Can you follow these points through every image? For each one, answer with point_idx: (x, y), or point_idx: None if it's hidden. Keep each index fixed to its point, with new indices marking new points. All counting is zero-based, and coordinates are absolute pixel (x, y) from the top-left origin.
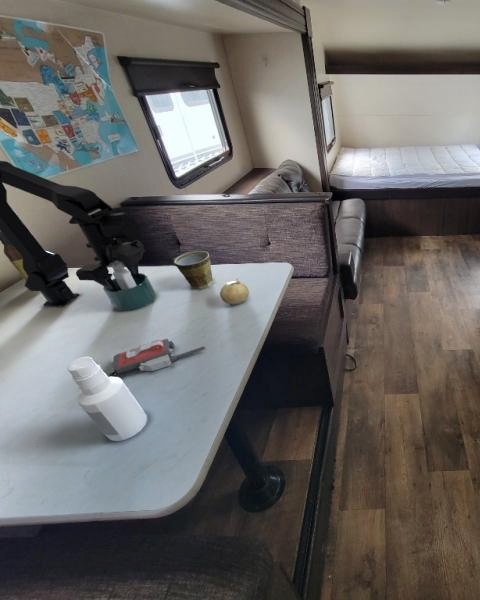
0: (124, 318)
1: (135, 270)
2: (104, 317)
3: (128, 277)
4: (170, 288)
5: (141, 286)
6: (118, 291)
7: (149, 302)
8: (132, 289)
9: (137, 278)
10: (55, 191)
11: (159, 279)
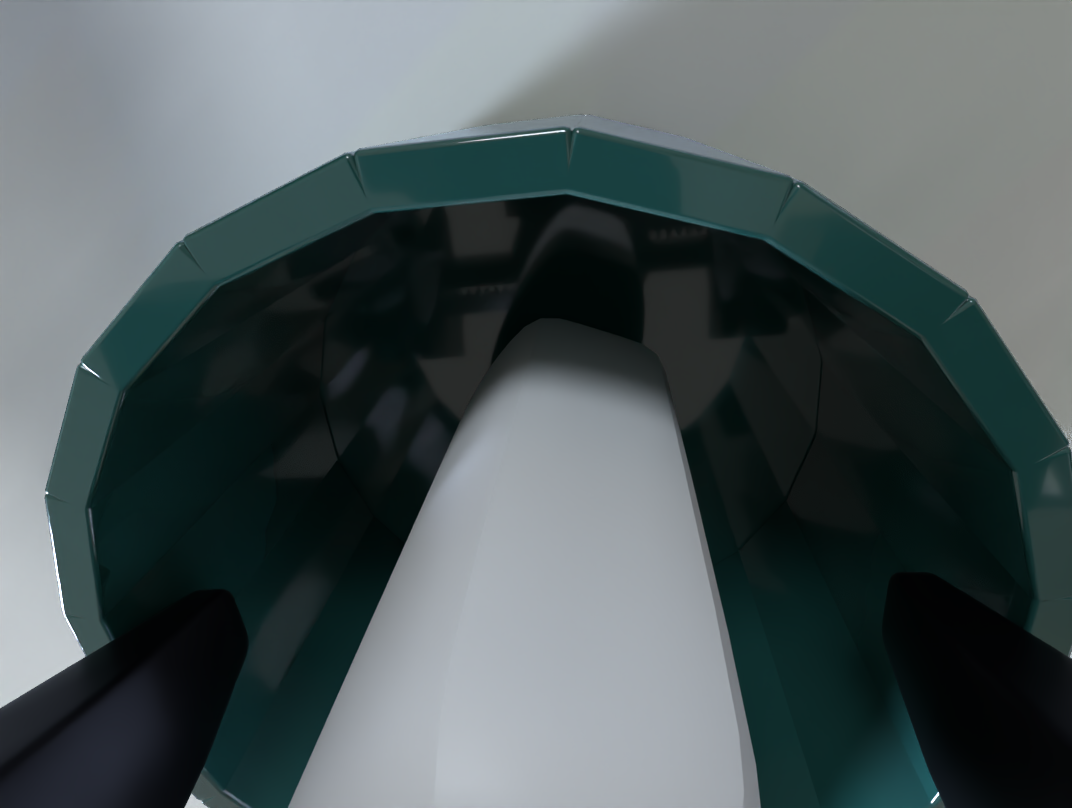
0: (1039, 223)
1: (52, 755)
2: None
3: (581, 637)
4: (121, 129)
5: (588, 126)
6: (1064, 517)
7: (600, 117)
8: (860, 232)
9: None
10: None
11: (38, 486)
